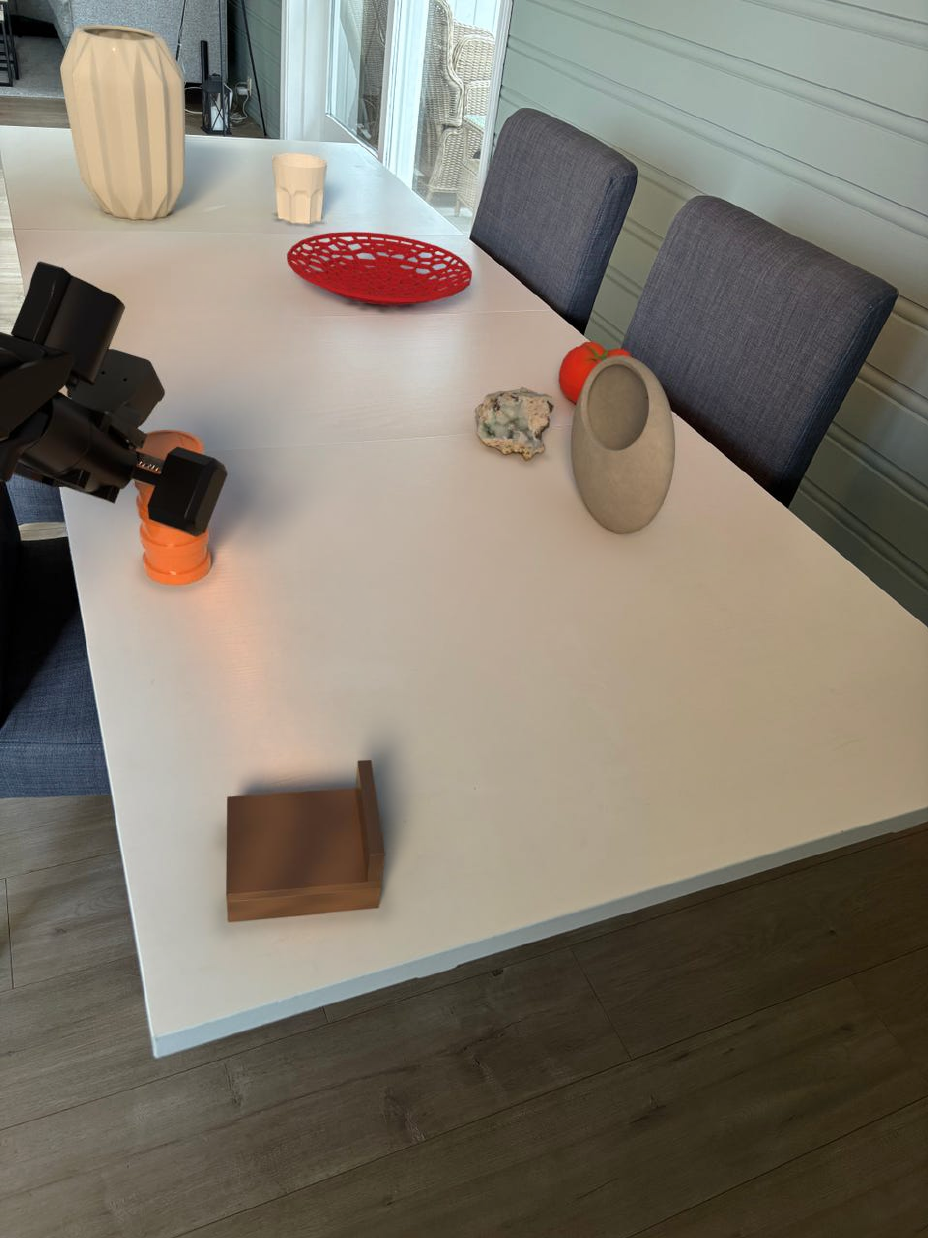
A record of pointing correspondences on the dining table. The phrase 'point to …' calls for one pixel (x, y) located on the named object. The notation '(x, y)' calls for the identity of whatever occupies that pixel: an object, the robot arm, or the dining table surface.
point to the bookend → (304, 851)
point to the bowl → (379, 269)
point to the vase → (126, 118)
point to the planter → (623, 444)
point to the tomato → (582, 366)
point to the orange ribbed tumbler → (166, 548)
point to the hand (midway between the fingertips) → (160, 494)
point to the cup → (299, 186)
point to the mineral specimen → (514, 421)
